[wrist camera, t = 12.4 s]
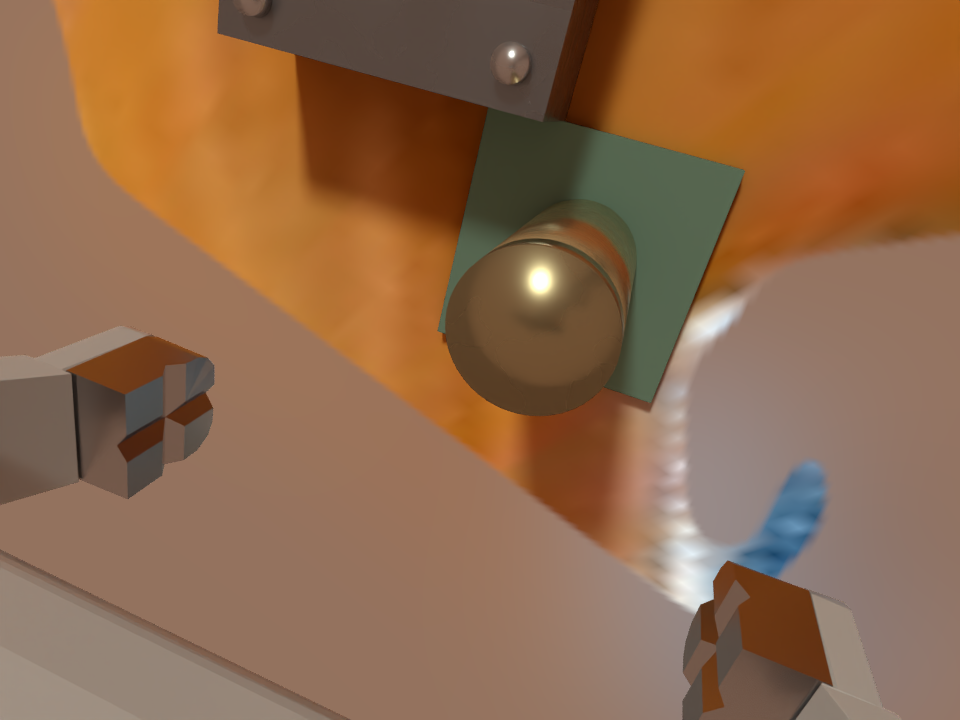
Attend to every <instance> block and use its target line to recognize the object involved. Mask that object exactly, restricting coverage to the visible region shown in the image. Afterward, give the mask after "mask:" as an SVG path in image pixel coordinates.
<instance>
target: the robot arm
mask: <svg viewBox="0 0 960 720" xmlns="http://www.w3.org/2000/svg"><path fill="white" fill-rule="evenodd" d="M213 385H214V365H213V363H212V362H211V361H210V360H209V359H208V358H207V357H204V356H202V355H200V354H197V353H195V352H192V351H190V350H188V349H185V348H183V347H181V346H178V345H176V344H173V343H171V342H169V341H166V340H164V339H161V338H159V337H155V336H153V335H152V334H149V333H146V332H143V331H141V330H138V329H136V328H133V327H128V326H118V327H116V328H113V329H110V330H108V331H105V332H102V333H100V334H97V335H94V336H92V337H89V338H87V339H84V340H81V341H79V342H76V343H74V344H71V345H69V346H66V347H63V348H61V349H58V350H55V351H52V352H50V353H47V354H45V355H42V356H39V357H37V358H32V357H29V356H27V355H20V356H4V357H0V505H2V504H5V503H8V502H12V501H15V500H19V499H22V498H26V497H29V496H32V495H36V494H39V493H43V492H46V491H50V490H53V489H56V488H60V487H63V486H67V485H70V484H74V483H77V482H79V479H80V480H82V481H85V482H87V483H90V484H92V485H95V486H97V487H99V488H102V489H104V490H107V491H109V492H112V493H114V494H116V495H119V496H121V497H124V498H126V499H129V498H130V497H132V496H133V495H134V494H136V493H137V492H139V491H140V490H142V489H143V488H145V487H146V486H147V485H149V484H150V483H152V482H153V481H155V480H156V479H157V478H159V477H160V476H162V473H163V469H164V464H167V463H172V462H177V461H181V460H184V459H186V458H187V457H188V456H190V455H191V454H193V453H194V452H195V451H197V449H198V448H199V447H200V445H201V444H202V442H203V441H204V440H205V438H206V437H207V435H208V433H209V429H210V427H211V424H212V416H213V407H212V405H211V403H210V401H209V399H208V397H207V395H206V391H208V390H209V389H210V388H211V387H212V386H213ZM713 590H714V599H713V600H711V601H708V602H706V603H704V604H701V605H700V607H699V609H698V611H697V613H696V615H695V617H694V619H693V621H692V623H691V626H690V629H689V633H688V636H687V639H686V643H685V650H684V656H683V673H684V675H685V677H686V678H687V680H688V682H689V683H690V685H691V687H690V689H689V691H688V692H687V694H686V696H685V698H684V699H683V720H902V719H901V718H900V717H899V716H898V715H897V714H896V713H893V712H891V711H889V710H887V709H884V708H883V706H882V703H881V700H880V697H879V694H878V691H877V688H876V685H875V682H874V679H873V676H872V673H871V669H870V667H869V664H868V660H867V657H866V655H865V651H864V648H863V645H862V642H861V639H860V636H859V633H858V630H857V627H856V624H855V621H854V618H853V615H852V612H851V609H850V608H849V607H848V606H847V605H846V604H845V603H844V602H842V601H839V600H836V599H833V598H831V597H828V596H825V595H822V594H819V593H817V592H814V591H811V590H808V589H803V588H800V587H798V586H795V585H792V584H790V583H787V582H784V581H782V580H779V579H776V578H774V577H771V576H768V575H765V574H763V573H760V572H757V571H755V570H752V569H749V568H747V567H744V566H741V565H739V564H736V563H733V562H731V561H727V562H726V563H725V564H724V565H723V566H722V567H721V569H720V570H719V572H718V574H717V576H716V577H715V579H714V581H713ZM0 720H350V719H348V718H346V717H344V716H342V715H340V714H338V713H336V712H334V711H331V710H330V709H327V708H326V707H323V706H321V705H319V704H317V703H315V702H313V701H311V700H309V699H307V698H305V697H303V696H300V695H299V694H297V693H295V692H293V691H291V690H288V689H286V688H284V687H282V686H280V685H278V684H276V683H274V682H272V681H270V680H268V679H266V678H264V677H262V676H260V675H257V674H256V673H253V672H251V671H249V670H247V669H245V668H243V667H241V666H239V665H237V664H235V663H233V662H231V661H229V660H227V659H225V658H223V657H221V656H218V655H216V654H214V653H212V652H210V651H208V650H206V649H204V648H202V647H200V646H198V645H195V644H194V643H192V642H190V641H187V640H186V639H184V638H181V637H179V636H177V635H175V634H173V633H171V632H169V631H167V630H165V629H163V628H161V627H159V626H157V625H155V624H153V623H150V622H148V621H146V620H144V619H142V618H140V617H138V616H136V615H134V614H132V613H130V612H128V611H126V610H124V609H122V608H120V607H118V606H116V605H114V604H111V603H109V602H107V601H105V600H103V599H101V598H99V597H97V596H95V595H93V594H91V593H89V592H87V591H84V590H83V589H81V588H79V587H76V586H74V585H72V584H70V583H68V582H66V581H64V580H62V579H60V578H58V577H56V576H54V575H52V574H50V573H47V572H46V571H44V570H41V569H39V568H37V567H35V566H33V565H31V564H29V563H27V562H25V561H23V560H21V559H19V558H17V557H15V556H13V555H10V554H9V553H6V552H4V551H2V550H0Z"/></svg>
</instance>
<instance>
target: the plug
mask: <svg viewBox="0 0 960 720" xmlns="http://www.w3.org/2000/svg"><path fill="white" fill-rule="evenodd" d="M636 263H637V251H636V245H635V241H634V238H633V235H632V233H631V231H630V229H629V227H628V226H627V224H626V223H625V222H624V220H623V219H622V218H621V217H620V216H619V215H618V214H617V213H616V212H615V211H613V210H612V209H610V208H609V207H607V206H605V205H603V204H601V203H598V202H595V201H591V200H585V199H571V200H566V201H562V202H559V203H556V204H554V205H552V206H550V207H548V208H546V209H545V210H543V211H542V212H541V213H539V214H538V215H537V216H536V217H534V218H533V219H532V220H530V221H529V222H528V223H526V224H525V225H524V226H523V227H521V228H520V229H519V230H517V231H516V232H515V233H513V234H512V235H511V236H510V237H508V238H507V239H506V240H504V241H503V242H502V243H501V244H499V245H498V246H497V247H495V248H494V249H493V250H491V251H490V252H489V253H488V254H486V255H485V256H484V257H482V258H481V259H480V260H478V261H477V262H476V263H475V264H474V265H473V266H471V267H470V268H469V269H468V270H467V271H466V272H465V274H464V275H463V276H462V277H461V278H460V280H459V281H458V283H457V285H456V286H455V288H454V290H453V292H452V294H451V297H450V299H449V303H448V306H447V311H446V318H445V332H446V341H447V345H448V349H449V352H450V355H451V357H452V360H453V362H454V364H455V366H456V368H457V370H458V371H459V373H460V374H461V376H462V377H463V379H464V380H465V381H466V382H467V383H468V385H469V386H470V387H471V388H472V389H473V390H474V391H476V392H477V393H478V394H479V395H480V396H482V397H483V398H484V399H486V400H487V401H489V402H490V403H492V404H494V405H496V406H498V407H500V408H502V409H505V410H507V411H510V412H514V413H517V414H523V415H529V416H548V415H555V414H560V413H564V412H567V411H569V410H572V409H575V408H577V407H579V406H581V405H583V404H584V403H586V402H587V401H588V400H590V399H591V398H593V397H594V396H595V395H596V394H597V393H598V392H599V391H600V390H601V389H602V388H603V387H604V386H605V384H606V383H607V382H608V380H609V379H610V377H611V375H612V374H613V372H614V370H615V367H616V365H617V363H618V359H619V356H620V352H621V347H622V341H623V336H624V330H625V325H626V319H627V314H628V308H629V303H630V297H631V292H632V286H633V281H634V275H635V270H636Z"/></svg>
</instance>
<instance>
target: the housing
mask: <svg viewBox="0 0 960 720" xmlns="http://www.w3.org/2000/svg"><path fill="white" fill-rule="evenodd" d="M598 1H599V0H219V14H218V33H219V34H223V35H226V36H230V37H234V38H237V39H241V40H244V41H248V42H252V43H255V44H259V45H263V46H266V47H270V48H274V49H277V50H281V51H285V52H288V53H292V54H296V55H299V56H303V57H307V58H310V59H314V60H318V61H321V62H325V63H329V64H332V65H336V66H339V67H343V68H347V69H350V70H354V71H358V72H361V73H365V74H369V75H372V76H376V77H380V78H383V79H387V80H391V81H394V82H398V83H402V84H405V85H409V86H413V87H416V88H420V89H424V90H427V91H431V92H435V93H438V94H442V95H445V96H449V97H453V98H456V99H460V100H464V101H467V102H471V103H475V104H478V105H482V106H486V107H489V108H493V109H497V110H500V111H504V112H508V113H511V114H515V115H519V116H522V117H526V118H530V119H533V120H537V121H540V122H560V121H565V120H566V116H567V113H568V109H569V106H570V102H571V99H572V95H573V91H574V88H575V84H576V81H577V77H578V73H579V70H580V66H581V63H582V59H583V55H584V52H585V48H586V45H587V41H588V37H589V34H590V30H591V27H592V23H593V19H594V16H595V12H596V9H597V5H598Z"/></svg>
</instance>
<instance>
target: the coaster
mask: <svg viewBox="0 0 960 720" xmlns="http://www.w3.org/2000/svg"><path fill="white" fill-rule="evenodd" d="M744 172H745V171H744V170H742V169H739V168H735V167H731V166H728V165H724V164H720V163H717V162H713V161H709V160H706V159H702V158H698V157H695V156H691V155H687V154H684V153H680V152H676V151H673V150H669V149H665V148H661V147H658V146H654V145H650V144H647V143H643V142H639V141H636V140H632V139H628V138H625V137H621V136H617V135H614V134H610V133H606V132H603V131H599V130H595V129H592V128H588V127H584V126H581V125H577V124H573V123H570V122H566V121H560V122H540V121H537V120H533V119H530V118H526V117H522V116H519V115H515V114H511V113H508V112H504V111H500V110H497V109H493V108H489V107H488V111H487V116H486V120H485V125H484V129H483V133H482V138H481V142H480V147H479V151H478V155H477V160H476V164H475V169H474V173H473V177H472V182H471V186H470V191H469V195H468V199H467V204H466V208H465V213H464V217H463V221H462V226H461V230H460V235H459V239H458V243H457V248H456V252H455V257H454V261H453V265H452V270H451V274H450V279H449V283H448V287H447V292H446V296H445V301H444V305H443V309H442V314H441V318H440V323H439V327H438V331H439V332H442V333H445V334H446V332H445V318H446V311H447V306H448V303H449V299H450V297H451V294H452V292H453V290H454V288H455V286H456V285H457V283H458V281H459V280H460V278H461V277H462V276H463V275H464V274H465V272H466V271H467V270H468V269H469V268H470V267H471V266H473V265H474V264H475V263H476V262H477V261H478V260H480V259H481V258H482V257H484V256H485V255H486V254H488V253H489V252H490V251H491V250H493V249H494V248H495V247H497V246H498V245H499V244H501V243H502V242H503V241H504V240H506V239H507V238H508V237H510V236H511V235H512V234H513V233H515V232H516V231H517V230H519V229H520V228H521V227H523V226H524V225H525V224H526V223H528V222H529V221H530V220H532V219H533V218H534V217H536V216H537V215H538V214H539V213H541V212H542V211H543V210H545V209H546V208H548V207H550V206H552V205H554V204H556V203H559V202H562V201H566V200H571V199H585V200H591V201H595V202H598V203H601V204H603V205H605V206H607V207H609V208H610V209H612V210H613V211H615V212H616V213H617V214H618V215H619V216H620V217H621V218H622V219H623V220H624V222H625V223H626V224H627V226H628V227H629V229H630V231H631V233H632V235H633V238H634V241H635V245H636V251H637V263H636V270H635V275H634V281H633V286H632V292H631V297H630V303H629V308H628V314H627V319H626V325H625V330H624V336H623V341H622V347H621V352H620V356H619V359H618V363H617V365H616V367H615V370H614V372H613V374H612V375H611V377H610V379H609V380H608V382H607V383H606V384H605V386H604V387H605V388H608V389H611V390H614V391H617V392H620V393H623V394H626V395H629V396H632V397H634V398H637V399H640V400H643V401H646V402H649V403H651V402H652V399H653V397H654V394H655V392H656V389H657V387H658V384H659V382H660V379H661V377H662V374H663V372H664V369H665V367H666V365H667V362H668V360H669V357H670V355H671V352H672V350H673V347H674V345H675V342H676V340H677V337H678V335H679V332H680V330H681V328H682V325H683V323H684V320H685V318H686V315H687V313H688V310H689V308H690V305H691V303H692V300H693V298H694V296H695V293H696V291H697V288H698V286H699V283H700V281H701V278H702V276H703V273H704V271H705V268H706V266H707V263H708V261H709V259H710V256H711V254H712V251H713V249H714V246H715V244H716V241H717V239H718V236H719V234H720V231H721V229H722V227H723V224H724V222H725V219H726V217H727V214H728V212H729V209H730V207H731V204H732V202H733V199H734V197H735V194H736V192H737V190H738V187H739V185H740V182H741V180H742V177H743V175H744Z"/></svg>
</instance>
